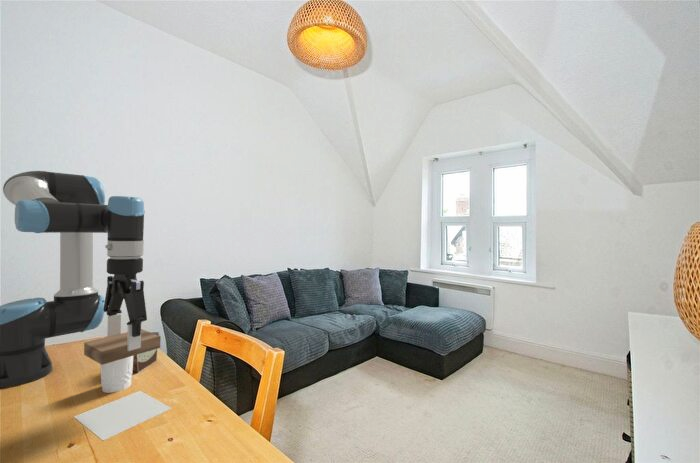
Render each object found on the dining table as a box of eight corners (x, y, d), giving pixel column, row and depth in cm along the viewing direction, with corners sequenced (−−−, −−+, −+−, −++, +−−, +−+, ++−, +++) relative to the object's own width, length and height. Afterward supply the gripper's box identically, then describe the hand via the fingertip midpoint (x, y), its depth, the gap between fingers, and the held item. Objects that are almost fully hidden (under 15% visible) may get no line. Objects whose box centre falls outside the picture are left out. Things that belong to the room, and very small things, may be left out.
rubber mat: (73, 419, 78) (73, 416, 78) (140, 393, 90) (140, 390, 90) (102, 444, 69) (103, 440, 69) (171, 411, 82) (171, 408, 82)
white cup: (115, 398, 88) (116, 362, 88) (92, 394, 89) (92, 359, 89) (139, 384, 95) (140, 351, 95) (117, 381, 97) (118, 348, 97)
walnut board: (84, 354, 78) (84, 342, 78) (141, 339, 90) (141, 329, 89) (101, 364, 73) (102, 351, 73) (160, 347, 84) (160, 336, 84)
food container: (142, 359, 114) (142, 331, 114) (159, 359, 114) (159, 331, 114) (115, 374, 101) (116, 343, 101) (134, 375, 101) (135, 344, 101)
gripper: (88, 255, 84) (87, 339, 84) (130, 262, 72) (128, 359, 72) (121, 253, 90) (119, 331, 90) (164, 259, 78) (162, 349, 79)
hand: (123, 344), depth 81 cm, fingers closed on walnut board, 10 cm apart
